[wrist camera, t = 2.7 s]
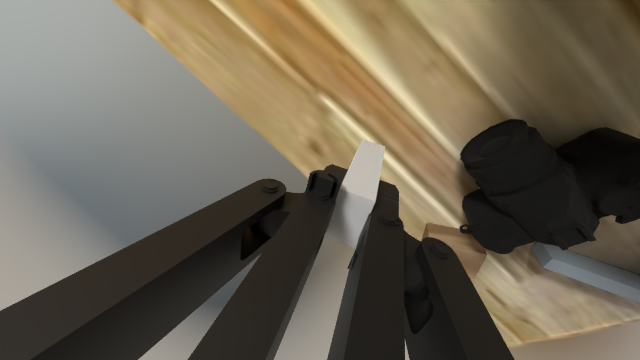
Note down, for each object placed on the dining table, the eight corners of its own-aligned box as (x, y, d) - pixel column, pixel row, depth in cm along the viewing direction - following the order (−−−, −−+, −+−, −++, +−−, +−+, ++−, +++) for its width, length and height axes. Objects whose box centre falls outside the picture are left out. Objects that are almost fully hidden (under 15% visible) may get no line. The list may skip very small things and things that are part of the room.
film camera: (576, 69, 20) (679, 78, 13) (633, 151, 22) (756, 203, 14) (421, 168, 28) (427, 209, 21) (469, 223, 30) (492, 281, 22)
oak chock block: (426, 221, 31) (429, 242, 28) (477, 231, 30) (486, 254, 26) (419, 244, 33) (421, 265, 30) (467, 254, 32) (474, 278, 28)
